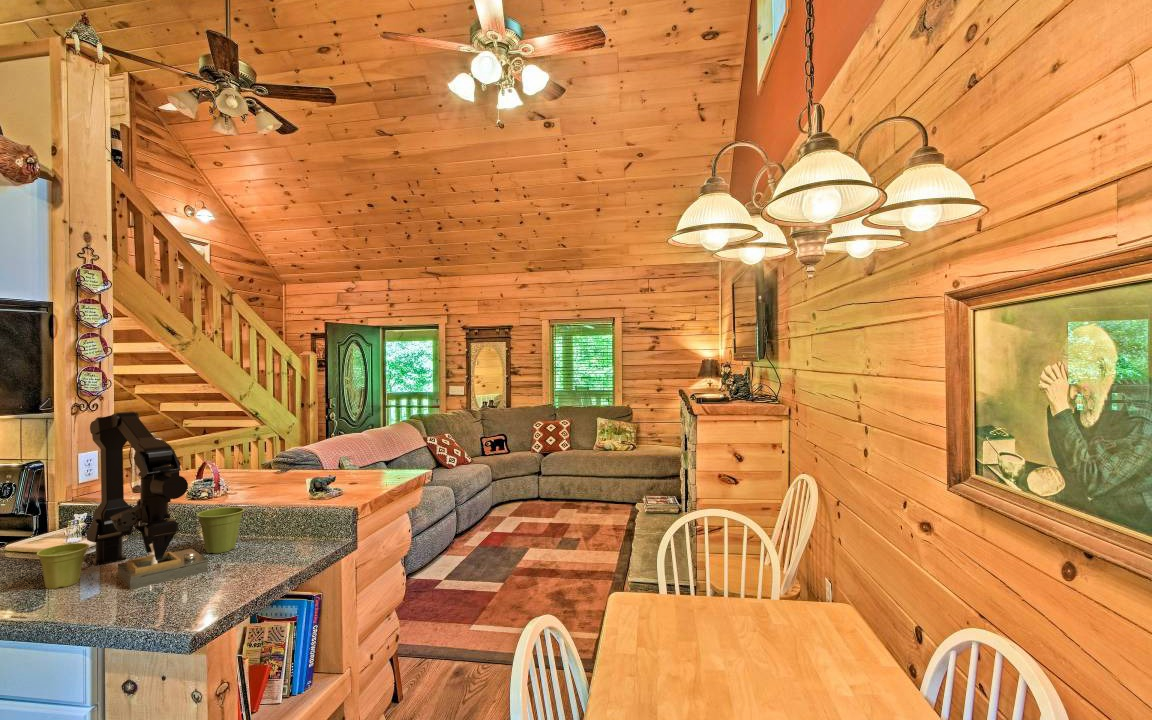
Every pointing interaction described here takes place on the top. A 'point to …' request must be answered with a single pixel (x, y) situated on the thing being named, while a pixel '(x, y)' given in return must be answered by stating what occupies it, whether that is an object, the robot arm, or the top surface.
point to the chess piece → (152, 555)
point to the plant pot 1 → (62, 564)
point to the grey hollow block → (161, 568)
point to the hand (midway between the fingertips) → (153, 555)
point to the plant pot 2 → (220, 528)
